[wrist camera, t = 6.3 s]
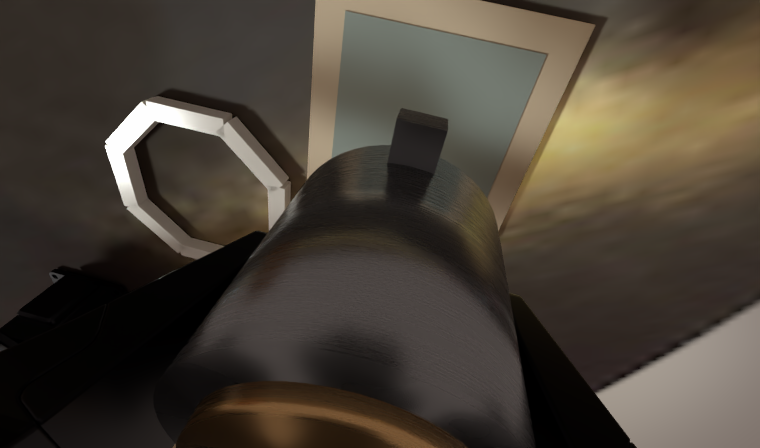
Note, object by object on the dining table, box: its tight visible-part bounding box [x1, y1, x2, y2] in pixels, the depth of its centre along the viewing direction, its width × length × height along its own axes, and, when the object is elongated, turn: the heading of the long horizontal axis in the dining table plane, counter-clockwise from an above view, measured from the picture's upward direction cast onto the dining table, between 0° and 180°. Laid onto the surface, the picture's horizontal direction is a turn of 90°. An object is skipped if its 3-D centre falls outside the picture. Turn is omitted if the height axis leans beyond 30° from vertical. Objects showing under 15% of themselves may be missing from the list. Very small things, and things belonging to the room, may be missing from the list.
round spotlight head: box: [153, 108, 536, 448], centre depth 7 cm, size 6×7×6 cm
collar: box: [105, 96, 291, 259], centre depth 21 cm, size 11×11×1 cm
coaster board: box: [307, 0, 595, 231], centre depth 17 cm, size 11×11×1 cm
